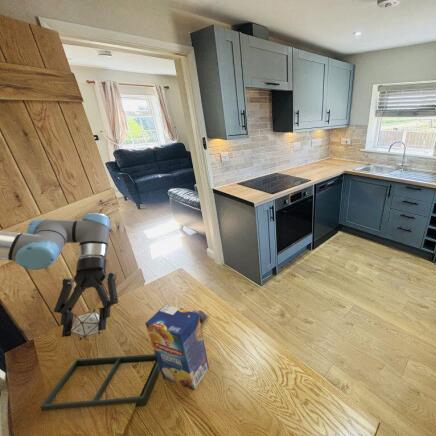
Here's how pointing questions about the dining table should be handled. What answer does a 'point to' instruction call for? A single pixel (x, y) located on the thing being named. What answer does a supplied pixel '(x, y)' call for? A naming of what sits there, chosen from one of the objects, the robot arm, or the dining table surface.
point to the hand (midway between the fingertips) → (84, 333)
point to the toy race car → (200, 315)
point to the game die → (85, 325)
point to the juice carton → (178, 345)
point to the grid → (106, 383)
